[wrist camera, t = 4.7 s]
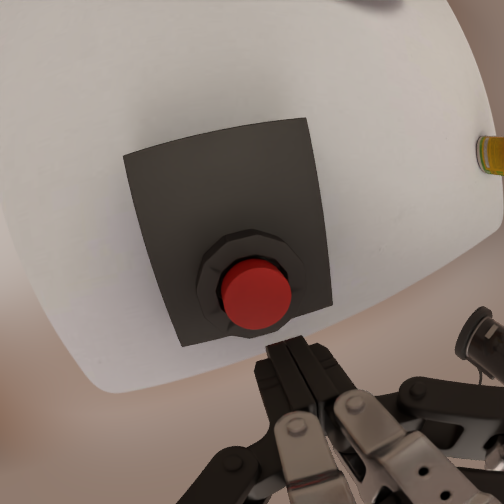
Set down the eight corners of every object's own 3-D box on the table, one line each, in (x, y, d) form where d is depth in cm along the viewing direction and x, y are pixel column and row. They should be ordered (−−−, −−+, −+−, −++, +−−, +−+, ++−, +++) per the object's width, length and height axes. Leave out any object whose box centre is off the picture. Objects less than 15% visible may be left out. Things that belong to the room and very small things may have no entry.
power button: (287, 306, 18) (295, 319, 16) (229, 322, 17) (232, 337, 16) (277, 251, 17) (286, 259, 15) (213, 267, 16) (215, 278, 15)
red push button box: (312, 285, 24) (343, 316, 19) (183, 319, 23) (181, 362, 17) (286, 126, 20) (317, 111, 14) (137, 159, 19) (114, 153, 13)
